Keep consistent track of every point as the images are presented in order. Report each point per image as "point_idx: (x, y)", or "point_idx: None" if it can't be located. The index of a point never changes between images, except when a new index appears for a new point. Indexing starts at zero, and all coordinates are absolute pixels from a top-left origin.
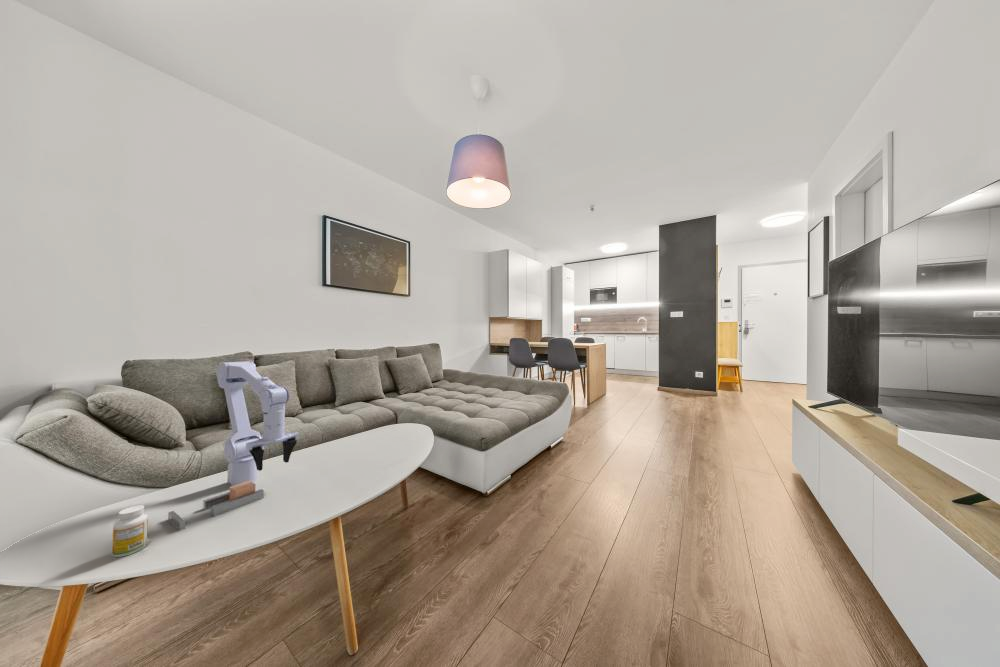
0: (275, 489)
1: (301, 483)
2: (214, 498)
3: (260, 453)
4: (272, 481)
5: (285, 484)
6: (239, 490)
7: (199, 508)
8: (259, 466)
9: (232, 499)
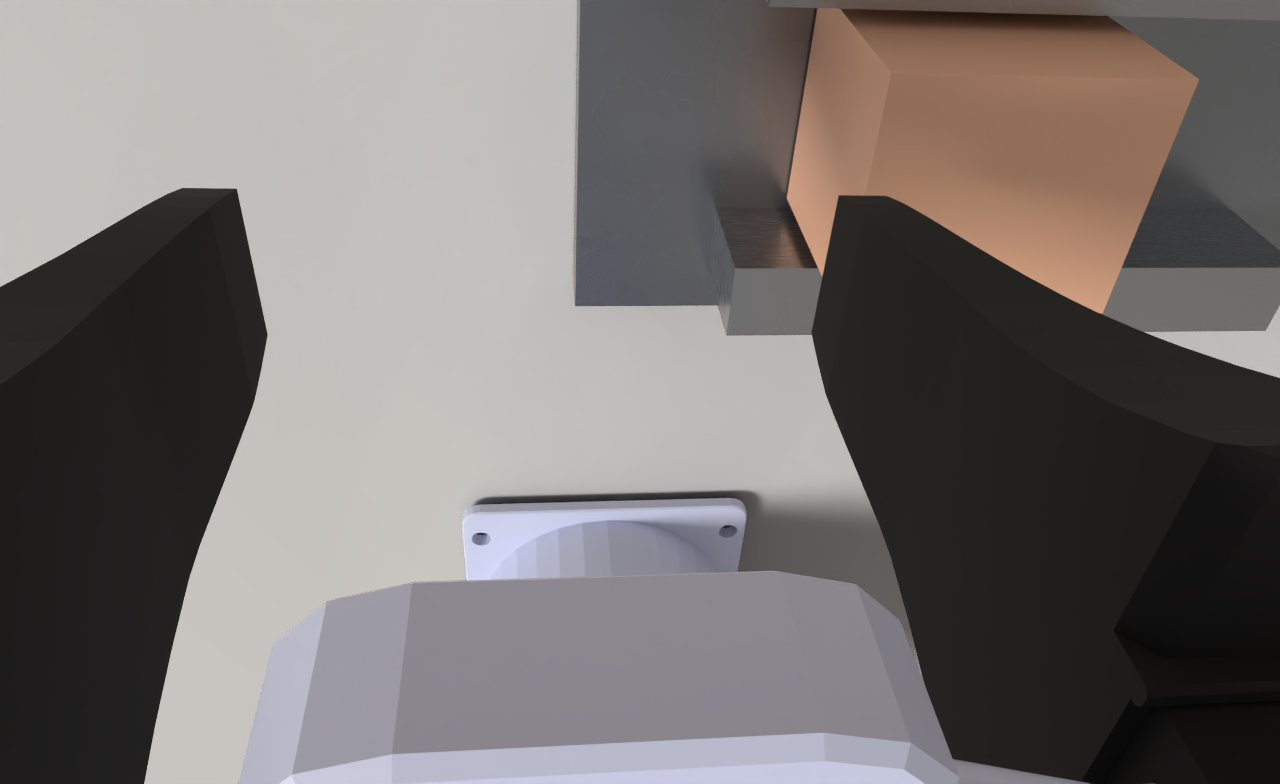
0: (439, 163)
1: (58, 18)
2: (1199, 278)
3: (1242, 410)
4: (368, 445)
5: (275, 213)
6: (1133, 69)
7: None
8: (951, 234)
9: (1195, 2)
